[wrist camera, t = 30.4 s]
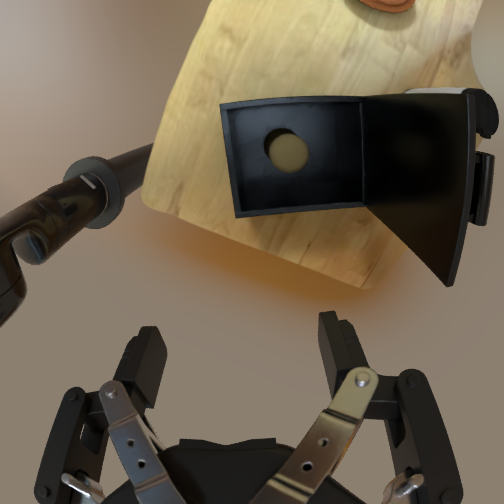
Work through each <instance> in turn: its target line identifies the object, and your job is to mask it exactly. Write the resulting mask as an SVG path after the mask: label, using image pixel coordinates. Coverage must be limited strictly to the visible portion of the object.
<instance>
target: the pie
mask: <svg viewBox="0 0 504 504" xmlns="http://www.w3.org/2000/svg"><path fill="white" fill-rule="evenodd" d="M359 1H361V2H362V3H364V4H366V5H368V6H370V7H372V8H374V9H378V10H382V11H386V12H393V13H399V12H403V11H406V10H408V9H409V8H410V7H412V5H413V3H414V2H415V0H359Z"/></svg>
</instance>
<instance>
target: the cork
mask: <svg viewBox="0 0 504 504" xmlns="http://www.w3.org/2000/svg"><path fill="white" fill-rule="evenodd" d="M263 148H264V151H265V154H266V155H267V157H268V158H269V159H270V160H271V162H272V164H273V165H274V167H276V168H277V169H278V170H280V171H282V172H285V173H293V172H297V171H299V170H301V169H302V168H303V167H304V166H305V165H306V164H307V161H308V159H309V148H308V146H307V144H306V142H305V141H304V140H303V139H302V138H301V137H299V136H297V134H296V133H294V132H293V131H292V130H290V129H287V128H277V129H274V130H272V131H271V132H269V134H268V135H267V136H266V138H265V140H264V147H263Z"/></svg>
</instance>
